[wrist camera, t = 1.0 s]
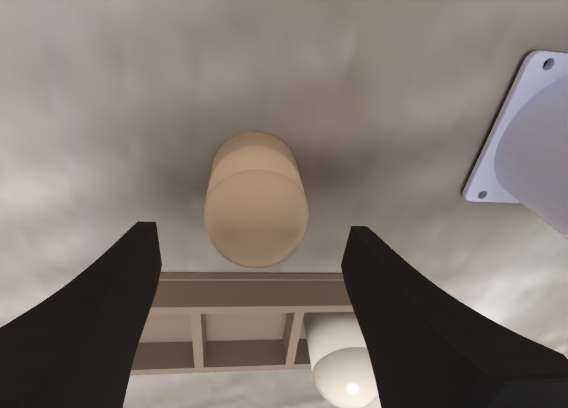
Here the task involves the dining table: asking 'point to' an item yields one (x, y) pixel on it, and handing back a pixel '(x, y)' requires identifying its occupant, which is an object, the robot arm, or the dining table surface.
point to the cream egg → (340, 359)
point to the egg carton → (234, 321)
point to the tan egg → (255, 201)
